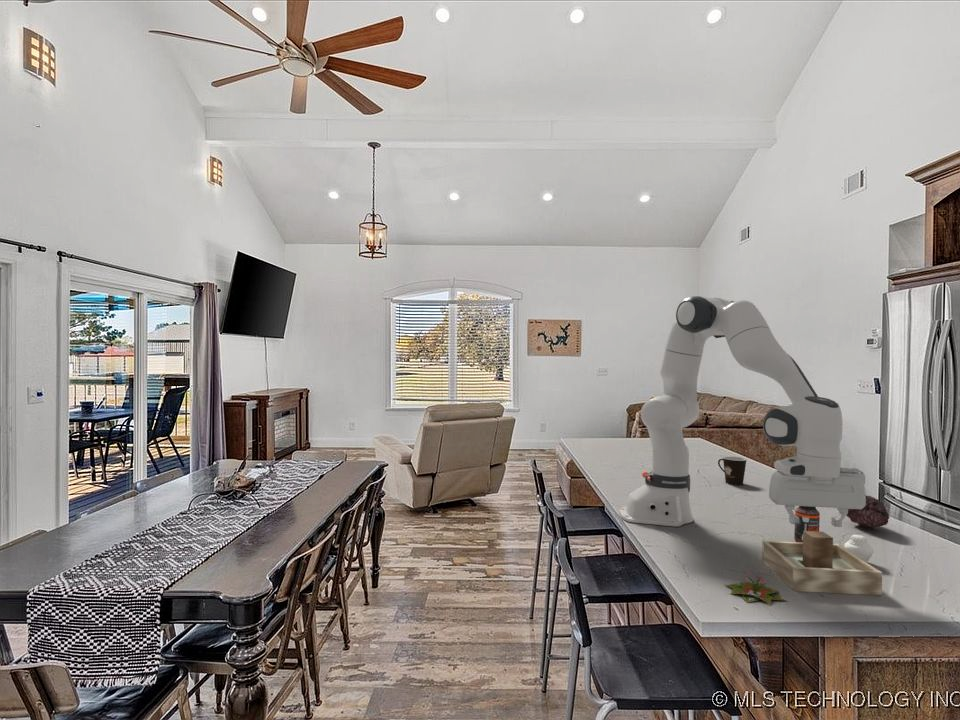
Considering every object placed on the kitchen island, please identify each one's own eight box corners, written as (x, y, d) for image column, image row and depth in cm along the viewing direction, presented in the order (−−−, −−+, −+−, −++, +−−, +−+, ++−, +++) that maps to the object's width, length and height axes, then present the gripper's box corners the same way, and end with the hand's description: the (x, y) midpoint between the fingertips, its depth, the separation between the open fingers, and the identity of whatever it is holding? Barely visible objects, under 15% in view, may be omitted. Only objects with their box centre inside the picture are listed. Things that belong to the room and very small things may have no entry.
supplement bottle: (810, 547, 150) (811, 505, 150) (789, 540, 156) (790, 500, 155) (823, 543, 153) (824, 502, 153) (802, 537, 158) (803, 497, 158)
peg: (811, 580, 128) (812, 537, 128) (802, 572, 133) (803, 530, 133) (832, 581, 128) (833, 538, 128) (822, 573, 132) (823, 531, 132)
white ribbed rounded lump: (845, 555, 144) (845, 528, 144) (874, 561, 140) (874, 534, 140) (842, 562, 139) (842, 535, 139) (872, 568, 135) (872, 540, 135)
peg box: (794, 590, 122) (795, 568, 122) (761, 560, 140) (762, 540, 140) (881, 595, 121) (882, 572, 120) (837, 563, 138) (837, 543, 138)
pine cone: (902, 539, 157) (902, 504, 157) (863, 537, 159) (864, 502, 159) (869, 520, 175) (870, 489, 174) (835, 518, 176) (835, 487, 176)
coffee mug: (750, 486, 219) (750, 460, 218) (728, 485, 219) (728, 460, 219) (736, 479, 230) (737, 455, 230) (715, 478, 230) (716, 455, 230)
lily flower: (798, 607, 116) (799, 585, 116) (743, 609, 115) (744, 587, 114) (764, 583, 128) (764, 563, 128) (714, 584, 127) (714, 564, 126)
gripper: (857, 465, 132) (854, 523, 132) (767, 461, 134) (764, 517, 135) (873, 472, 126) (870, 532, 126) (778, 467, 128) (775, 526, 128)
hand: (815, 524), depth 130 cm, fingers open, 8 cm apart
